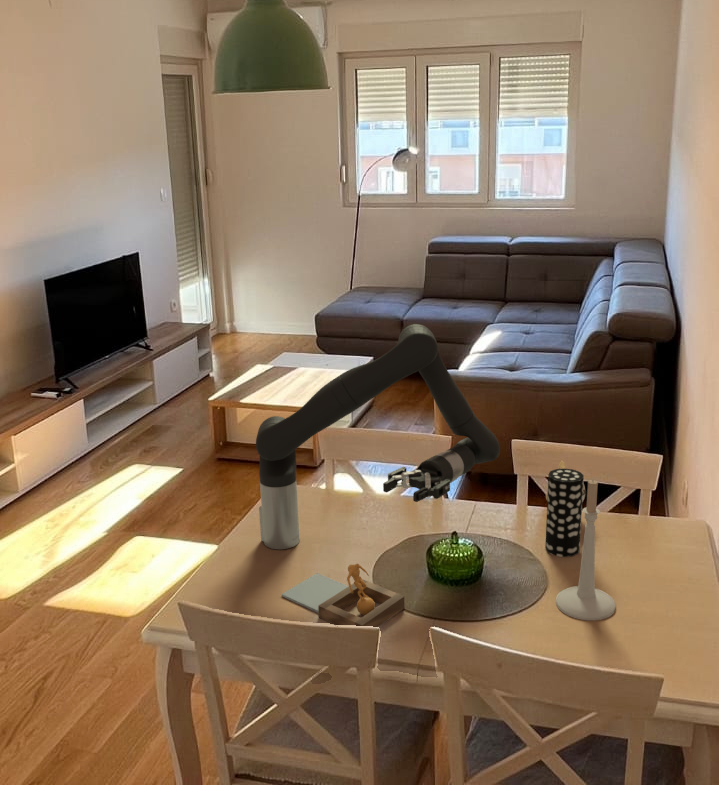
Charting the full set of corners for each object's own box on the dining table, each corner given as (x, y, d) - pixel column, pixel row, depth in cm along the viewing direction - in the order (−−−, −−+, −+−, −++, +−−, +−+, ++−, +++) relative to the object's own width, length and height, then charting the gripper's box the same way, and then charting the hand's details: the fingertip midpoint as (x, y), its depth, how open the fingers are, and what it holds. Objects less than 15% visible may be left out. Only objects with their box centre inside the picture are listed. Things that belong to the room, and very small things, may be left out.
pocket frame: (318, 617, 188) (318, 605, 187) (361, 590, 199) (361, 578, 198) (362, 637, 180) (362, 625, 179) (404, 608, 191) (404, 596, 190)
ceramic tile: (281, 596, 197) (281, 594, 197) (317, 575, 206) (317, 572, 205) (320, 613, 189) (320, 611, 189) (355, 591, 198) (355, 588, 198)
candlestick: (622, 598, 192) (631, 474, 183) (606, 626, 182) (615, 497, 173) (566, 584, 199) (572, 464, 190) (547, 610, 188) (553, 485, 179)
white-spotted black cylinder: (542, 553, 213) (545, 479, 206) (548, 539, 220) (551, 466, 214) (576, 559, 210) (581, 484, 203) (581, 544, 217) (586, 470, 211)
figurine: (366, 625, 185) (364, 576, 181) (341, 619, 187) (339, 570, 183) (382, 606, 192) (381, 558, 188) (357, 600, 194) (356, 553, 191)
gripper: (416, 448, 207) (374, 470, 195) (466, 462, 198) (424, 485, 187) (417, 477, 209) (375, 500, 198) (466, 491, 201) (425, 516, 189)
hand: (399, 493), depth 192 cm, fingers open, 8 cm apart
